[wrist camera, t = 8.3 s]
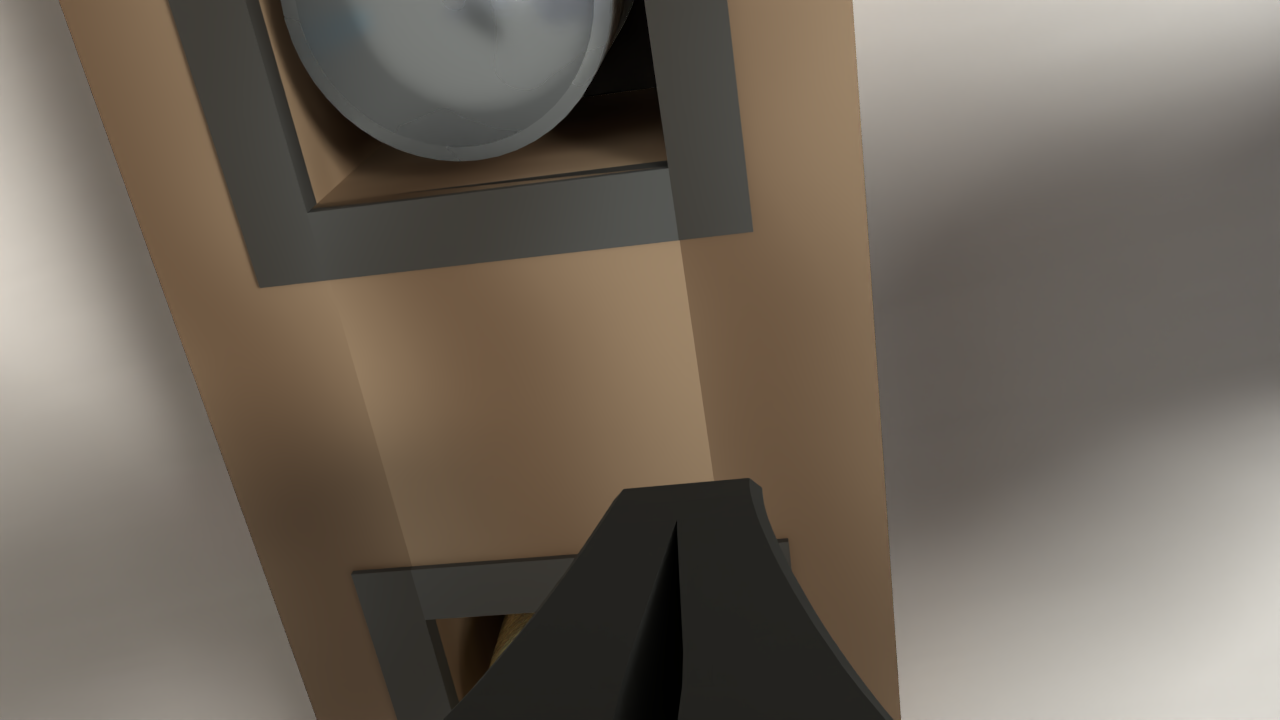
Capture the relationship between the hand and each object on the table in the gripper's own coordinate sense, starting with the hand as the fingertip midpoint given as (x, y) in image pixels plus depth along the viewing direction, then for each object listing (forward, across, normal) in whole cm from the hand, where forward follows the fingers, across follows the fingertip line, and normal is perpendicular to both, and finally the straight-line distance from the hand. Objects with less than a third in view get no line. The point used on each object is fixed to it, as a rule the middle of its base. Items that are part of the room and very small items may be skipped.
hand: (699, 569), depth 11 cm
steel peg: (+10, +3, -5) cm, 12 cm away
